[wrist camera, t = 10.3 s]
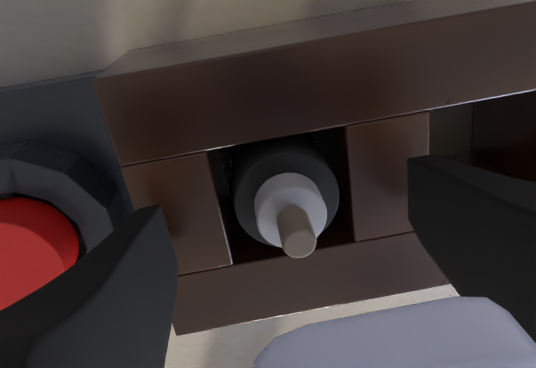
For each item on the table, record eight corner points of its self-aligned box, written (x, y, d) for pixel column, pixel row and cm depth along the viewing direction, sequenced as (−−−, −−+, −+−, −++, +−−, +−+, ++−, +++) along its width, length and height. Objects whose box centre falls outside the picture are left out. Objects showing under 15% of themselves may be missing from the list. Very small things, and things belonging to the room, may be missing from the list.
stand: (521, 191, 20) (609, 254, 15) (186, 254, 20) (176, 337, 15) (545, -24, 16) (671, -25, 12) (127, 50, 16) (89, 80, 11)
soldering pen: (312, 171, 19) (365, 282, 12) (238, 185, 18) (248, 305, 12) (304, 97, 17) (357, 176, 10) (223, 112, 17) (224, 201, 10)
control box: (178, 283, 20) (171, 331, 18) (6, 316, 20) (-27, 368, 17) (110, 68, 16) (88, 86, 13) (-109, 107, 16) (-177, 134, 13)
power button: (93, 271, 17) (80, 303, 15) (-2, 289, 16) (-25, 322, 15) (58, 187, 15) (39, 212, 13) (-46, 207, 15) (-78, 234, 13)
